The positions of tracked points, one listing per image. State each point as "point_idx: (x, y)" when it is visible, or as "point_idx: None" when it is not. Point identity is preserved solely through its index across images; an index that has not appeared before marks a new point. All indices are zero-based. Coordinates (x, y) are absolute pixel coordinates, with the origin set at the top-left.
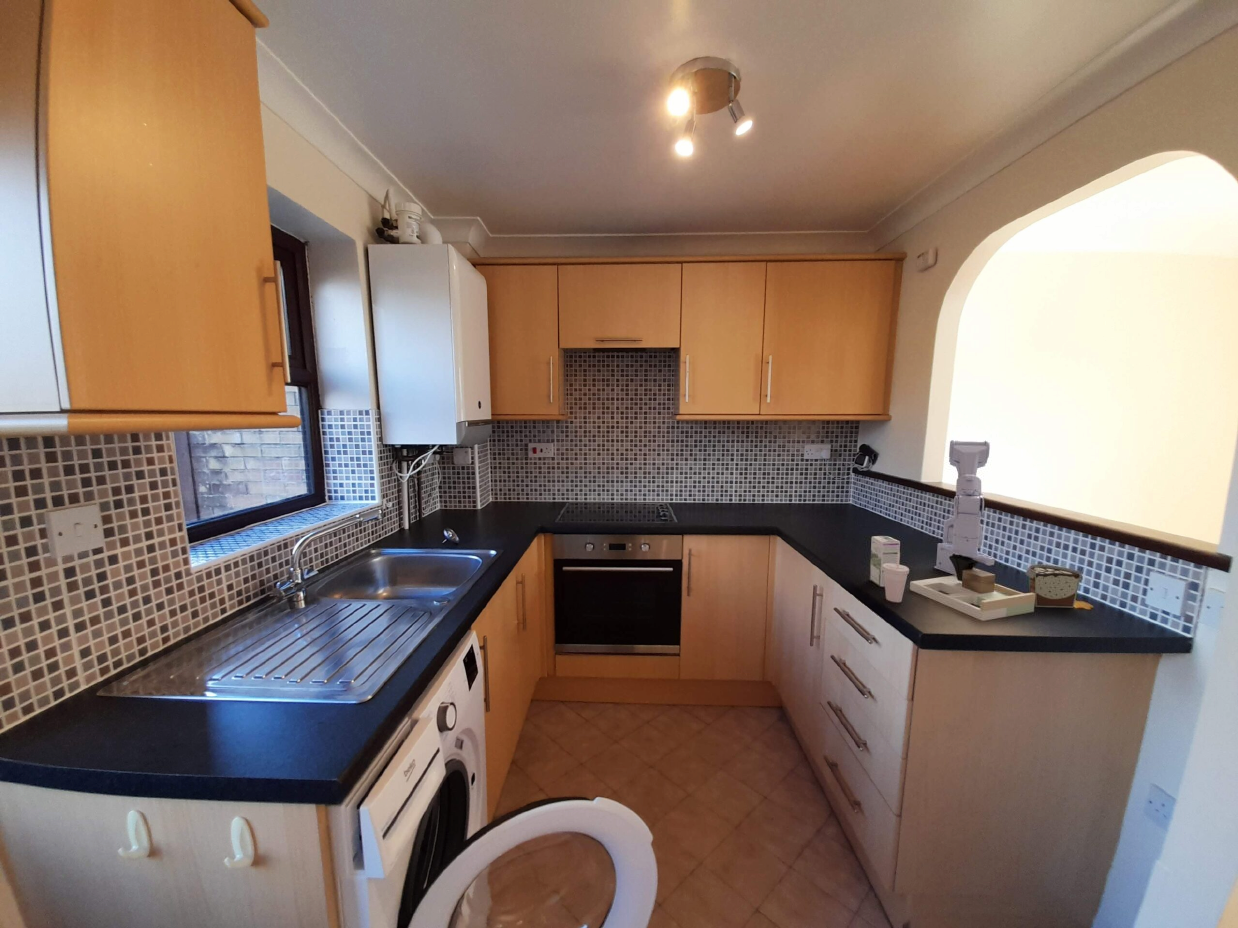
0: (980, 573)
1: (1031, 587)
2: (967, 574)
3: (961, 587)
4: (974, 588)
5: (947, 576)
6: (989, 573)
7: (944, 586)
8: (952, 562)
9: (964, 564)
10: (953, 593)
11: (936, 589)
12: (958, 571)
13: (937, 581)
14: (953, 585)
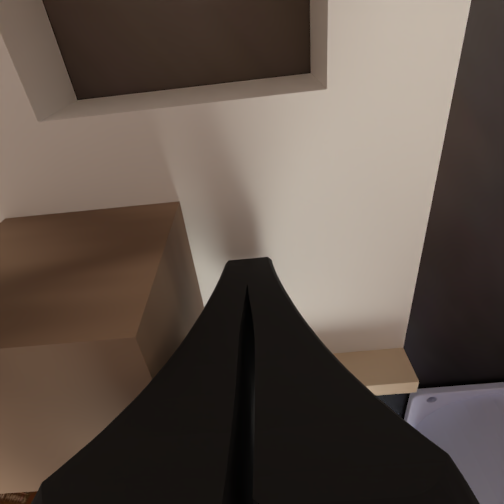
0: (4, 421)
1: (8, 501)
2: (78, 310)
3: (161, 183)
4: (45, 229)
5: (413, 284)
6: (24, 479)
7: (279, 88)
8: (354, 395)
9: (89, 452)
10: (180, 91)
11: (313, 10)
12: (252, 317)
13: (362, 68)
14: (220, 151)
